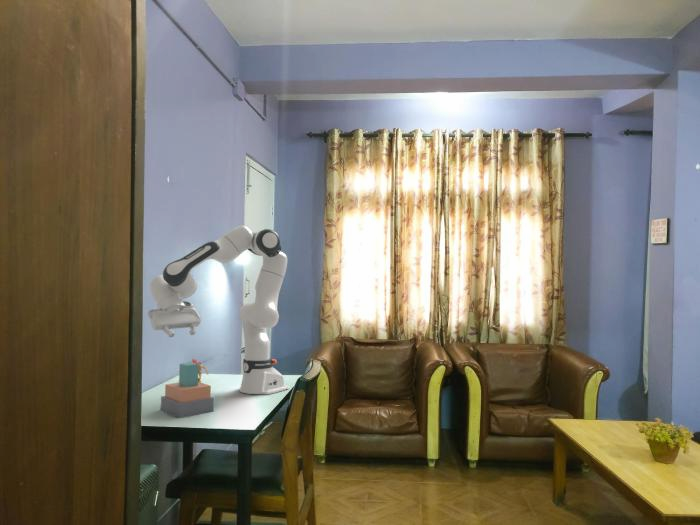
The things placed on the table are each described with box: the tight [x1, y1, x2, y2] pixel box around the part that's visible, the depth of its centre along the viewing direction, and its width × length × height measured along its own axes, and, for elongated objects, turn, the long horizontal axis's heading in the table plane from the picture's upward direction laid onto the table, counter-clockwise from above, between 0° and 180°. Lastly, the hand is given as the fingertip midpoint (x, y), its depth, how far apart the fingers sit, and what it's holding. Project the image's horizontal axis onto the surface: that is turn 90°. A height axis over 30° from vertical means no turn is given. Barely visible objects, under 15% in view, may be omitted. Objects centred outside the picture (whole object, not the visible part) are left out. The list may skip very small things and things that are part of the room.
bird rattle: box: [191, 358, 202, 383], centre depth 247 cm, size 6×11×9 cm
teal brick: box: [178, 361, 199, 387], centre depth 198 cm, size 5×5×8 cm
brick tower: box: [160, 381, 215, 419], centre depth 198 cm, size 14×14×10 cm
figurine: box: [197, 362, 209, 382], centre depth 229 cm, size 8×6×12 cm
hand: (182, 335), depth 209 cm, fingers open, 8 cm apart
